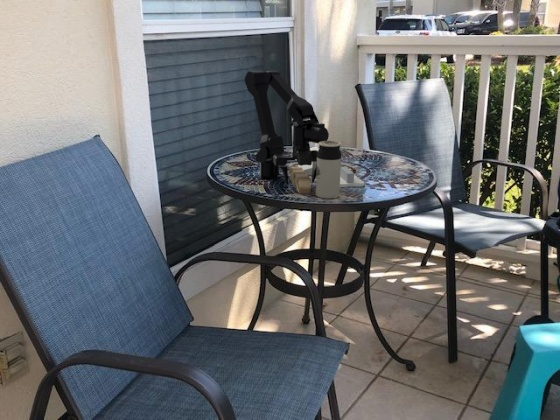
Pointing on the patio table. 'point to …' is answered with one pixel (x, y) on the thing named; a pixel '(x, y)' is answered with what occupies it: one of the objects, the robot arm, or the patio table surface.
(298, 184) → the oak bar
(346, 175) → the fulcrum stand
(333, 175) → the travel mug
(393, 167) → the patio table surface
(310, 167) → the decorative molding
